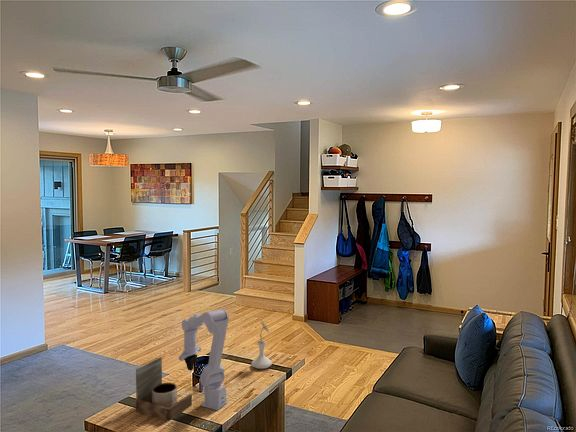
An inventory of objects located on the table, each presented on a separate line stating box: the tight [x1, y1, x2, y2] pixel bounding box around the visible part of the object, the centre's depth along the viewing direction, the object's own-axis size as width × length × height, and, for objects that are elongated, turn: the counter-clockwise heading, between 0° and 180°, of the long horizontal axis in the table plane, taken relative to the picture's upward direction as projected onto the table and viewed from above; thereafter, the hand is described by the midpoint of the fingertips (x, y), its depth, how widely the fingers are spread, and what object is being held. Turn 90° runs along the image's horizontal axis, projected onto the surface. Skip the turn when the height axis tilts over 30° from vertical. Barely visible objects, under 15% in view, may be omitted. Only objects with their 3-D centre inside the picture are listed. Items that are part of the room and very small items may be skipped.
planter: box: [152, 382, 178, 408], centre depth 188 cm, size 11×11×10 cm
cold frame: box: [135, 357, 193, 422], centre depth 188 cm, size 18×15×19 cm
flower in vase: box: [250, 320, 273, 370], centre depth 235 cm, size 13×11×25 cm
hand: (190, 369), depth 207 cm, fingers closed
